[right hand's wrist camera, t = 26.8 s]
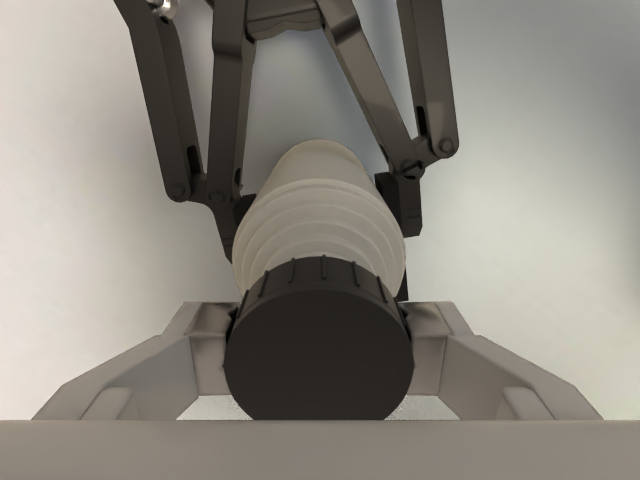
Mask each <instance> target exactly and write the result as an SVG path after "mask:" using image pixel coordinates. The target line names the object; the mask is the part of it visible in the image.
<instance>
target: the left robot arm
mask: <svg viewBox="0 0 640 480" xmlns="http://www.w3.org/2000/svg"><path fill="white" fill-rule="evenodd" d="M205 1H206V2H207V4H208V5H209V6H210V7H211V8H212V9H213V10H214V11H213V28H212V49H213V52H214V68H213V84H212V100H211V117H210V133H209V149H208V165H207V173H204V170H203V164H202V159H201V154H200V148H199V143H198V137H197V132H196V126H195V121H194V115H193V110H192V104H191V99H190V94H189V88H188V83H187V77H186V72H185V66H184V61H183V55H182V50H181V45H180V41H179V37H178V33H177V30H176V28H175V25H174V23H173V20H172V18H174V17H175V16H176V14H177V12H178V9H179V4H178V0H114V2H115V4H116V6H117V8H118V10H119V11H120V13H121V15H122V17H123V19H124V20H125V22H126V24H127V26H128V28H129V31H130V36H131V40H132V44H133V49H134V53H135V58H136V62H137V67H138V71H139V75H140V80H141V84H142V89H143V93H144V97H145V102H146V106H147V111H148V115H149V119H150V124H151V128H152V133H153V137H154V142H155V146H156V150H157V155H158V159H159V164H160V168H161V172H162V177H163V181H164V186H165V190H166V193H167V195H168V197H169V198H170V199H171V200H173V201H175V202H180V203H181V202H185V201H192V202H197V203H202V204H205V205H206V206H208V207H209V208H210V209H211V210H212V212H213V214H214V217H215V220H216V224H217V227H218V231H219V234H220V238H221V241H222V245H223V248H224V252H225V255H226V257H227V259H228V260H229V261H230V263H231V264H233V263H232V249H233V243H234V238H235V235H236V232H237V230H238V227H239V225H240V223H241V221H242V219H243V218H244V216H245V214H246V213H247V211H248V210H249V208H250V206H251V205H252V203H253V202H254V200H255V198H256V197H257V195H256V194H250V195H244V196H242V198H241V196H240V190H241V189H242V187H243V185H241V178H242V168H243V158H244V147H245V137H246V127H247V116H248V106H249V96H250V86H251V75H252V66H253V63H254V59H255V53H256V43H257V40H262V39H267V38H272V37H274V36H276V35H278V34H280V33H282V32H283V31H285V30H298V31H309V30H314V29H320V28H321V27H322V30H323V32H324V34H325V36H326V38H327V40H328V42H329V44H330V46H331V47H332V49H333V51H334V53H335V55H336V57H337V59H338V61H339V63H340V65H341V67H342V69H343V71H344V74H345V76H346V78H347V80H348V82H349V84H350V86H351V88H352V90H353V92H354V94H355V97H356V99H357V101H358V103H359V105H360V107H361V109H362V111H363V113H364V115H365V117H366V120H367V122H368V124H369V126H370V128H371V130H372V132H373V134H374V136H375V138H376V140H377V142H378V145H379V147H380V149H381V151H382V153H383V155H384V157H385V159H386V161H387V163H388V165H389V172H384V173H378V174H374V175H375V184H376V189H377V190H378V192H379V193H380V195H381V197H382V198H383V200H384V201H385V203H386V205H387V206H388V208H389V210H390V211H391V213H392V214H393V216H394V218H395V220H396V221H397V223H398V225H399V227H400V230H401V233H402V235H403V238H406V237H413V236H419V235H420V232H421V229H422V215H421V214H422V212H421V197H420V178H421V177H422V176H423V174H424V172H425V168H426V167H427V166H429V165H430V164H432V163H434V162H436V161H438V160H440V159H445V158H449V157H452V156H453V155H454V154H455V153H456V152H457V150H458V148H459V138H458V130H457V122H456V114H455V106H454V98H453V90H452V82H451V74H450V66H449V58H448V50H447V42H446V34H445V26H444V18H443V10H442V2H441V0H397V8H398V14H399V20H400V26H401V32H402V39H403V45H404V51H405V57H406V63H407V69H408V75H409V81H410V87H411V93H412V100H413V106H414V112H415V118H416V124H417V130H418V137H416V138H414V139H412V140H411V138H410V136H409V134H408V132H407V129H406V127H405V125H404V123H403V120H402V118H401V116H400V114H399V111H398V109H397V107H396V105H395V102H394V100H393V98H392V96H391V93H390V91H389V89H388V87H387V84H386V82H385V80H384V78H383V75H382V73H381V71H380V69H379V66H378V64H377V62H376V60H375V57H374V55H373V53H372V51H371V48H370V46H369V44H368V42H367V39H366V37H365V35H364V33H363V30H362V28H361V24H360V20H359V17H358V14H357V12H356V9H355V7H354V5H353V2H352V0H205ZM396 299H397V302H402V301H409V300H408V288H407V277H406V266H405V270H404V275H403V279H402V282H401V285H400V288H399V291H398V293H397V295H396Z"/></svg>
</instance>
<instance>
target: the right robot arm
mask: <svg viewBox="0 0 640 480" xmlns="http://www.w3.org/2000/svg"><path fill="white" fill-rule="evenodd" d="M398 304H399V307H400V310H401V312H402V315H403V318H404V320H405V323H406V325H407V326H405V329H406V332H407V335H408V338H409V340H410V343H411V347H412V350H413V357H414V371H413V376H412V381H411V384H410V387H409V389H408V392H407V393H406V395H428V396H438V398H439V399H440V400H442V401H443V402H444V403H445V404H446V405H447V406H448V407H449V408H450V409H451V410H452V411H453V412H454V413H455V414H456V415H457V416H458V417H459V418H460V419H461V420H175V419H176V418H177V417H178V416H180V415H181V414H182V413H183V412H184V411H185V410H186V409H187V408H188V407H189V406H190V405H191V404H192V403H193V402H194V401H195V400H196V399H198V396H208V395H232V394H231V392H230V390H229V388H228V385H227V382H226V378H225V373H224V355H225V349H226V346H227V343H228V340H229V337H230V334H231V332H232V329H233V325H232V324H233V322H235V321H236V315H237V313H238V310H239V307H240V305H241V304H240V302H203V301H193V302H184V303H183V304H182V306H181V307H180V309H179V310H178V312H177V313H176V314H175V316H174V317H173V319H172V320H171V322H170V323H169V325H168V326H167V328H166V329H165V331H164V332H163V334H162V335H156V336H154V337H152V338H150V339H148V340H146V341H144V342H142V343H141V344H139V345H137V346H135V347H133V348H131V349H129V350H127V351H125V352H124V353H122V354H120V355H118V356H116V357H114V358H112V359H110V360H109V361H107V362H105V363H103V364H101V365H99V366H97V367H95V368H93V369H92V370H90V371H88V372H86V373H84V374H82V375H80V376H78V377H76V378H75V379H73V380H71V381H69V382H67V383H65V384H63V385H62V386H61V387H60V388H59V389H58V390H57V391H56V392H55V394H54V395H53V396H52V397H51V398H50V399H49V400H48V401H47V402H46V404H45V405H44V406H43V407H42V408H41V409H40V410H39V411H38V412H37V414H36V415H35V416H34V417H33V418H32V419H31V420H0V480H640V420H604V419H603V418H602V417H601V416H600V414H599V413H598V412H597V411H596V410H595V409H594V408H593V406H592V405H591V404H590V403H589V402H588V401H587V400H586V399H585V397H584V396H583V395H582V394H581V393H580V392H579V391H578V389H577V388H576V387H575V386H574V385H572V384H570V383H568V382H566V381H565V380H563V379H561V378H559V377H557V376H555V375H553V374H552V373H550V372H548V371H546V370H544V369H542V368H540V367H539V366H537V365H535V364H533V363H531V362H529V361H527V360H525V359H524V358H522V357H520V356H518V355H516V354H514V353H512V352H511V351H509V350H507V349H505V348H503V347H501V346H499V345H498V344H496V343H494V342H492V341H490V340H488V339H486V338H485V337H483V336H481V335H474V333H473V332H472V330H471V329H470V327H469V326H468V324H467V323H466V321H465V320H464V318H463V317H462V315H461V314H460V312H459V311H458V309H457V308H456V306H455V305H454V303H453V302H451V301H443V302H406V303H398Z"/></svg>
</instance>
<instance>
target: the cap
mask: <svg viewBox="0 0 640 480" xmlns="http://www.w3.org/2000/svg"><path fill="white" fill-rule="evenodd" d="M232 325H233V329H232V332H231V334H230V337H229V340H228V343H227V346H226V349H225V355H224V373H225V378H226V382H227V385H228V388H229V390H230V392H231V394H232V396H233V398H234V399H235V401H236V402H237V403H238V405H239V406H240V407H241V408H242V409H243V410H244V412H245V413H246V414H247V415H249V416H250V417H251V418H252V419H254V420H384V419H385V418H386V417H388V416H389V415H390V414H391V413H392V412H393V411H394V410H395V409H396V408H397V407H398V405H399V404H400V403H401V402H402V400H403V399H404V397H405V395H406V393H407V392H408V389H409V387H410V384H411V381H412V376H413V371H414V357H413V350H412V347H411V343H410V340H409V338H408V335H407V332H406V329H405V326H407V325H406V323H405V320H404V318H403V315H402V312H401V310H400V307H399V304H398V302H397V299H396V297H393V296H392V294H391V293H390V291H389V290H388V288H387V287H386V286H385V285H384V284H383V282H382V281H381V278H380V276H377V277H376V276H375V275H374V274H373V273H371V272H370V271H368V270H367V269H365V268H364V267H362V266H359V265H357V264H356V262H355V261H352V262H350V261H347V260H344V259H339V258H334V257H326V255H322V256H312V257H311V256H310V257H304V258H298V259H295V258H291V261H288V262H285V263H283V264H281V265H278V266H276V267H275V268H273V269H271V270H270V271H268V270H266V271H265V272H264V275H263V276H262V277H260V278H259V279H258V280H257V281H256V282H255V283H254V284H253V285H252V287H251V288H250V290H248V289H247V290H246V291H245V294H244V297H243V299H242V302H241V305H240V307H239V310H238V313H237V315H236V321H235V322H233V324H232Z"/></svg>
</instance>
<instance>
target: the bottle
mask: <svg viewBox="0 0 640 480" xmlns="http://www.w3.org/2000/svg"><path fill="white" fill-rule="evenodd" d="M322 255H326V257H334V258H339V259H344V260H347V261H350V262H352V261H355V262H356V264H357V265H359V266H362V267H364V268H365V269H367V270H368V271H370V272H371V273H373V274H374V275H375V276H376V277H377V276H380V278H381V281H382V282H383V284H384V285H385V286H386V287H387V288H388V290H389V291H390V293H391V294H392V296H393V297H396V295H397V293H398V291H399V288H400V285H401V282H402V279H403V275H404V270H405V263H406V251H405V244H404V239H403V235H402V233H401V230H400V227H399V225H398V223H397V221H396V220H395V218H394V216H393V214H392V213H391V211H390V210H389V208H388V206H387V205H386V203H385V201H384V200H383V198H382V197H381V195H380V193H379V192H378V190H377V189H376V187H375V185H374V184H373V182H372V180H371V179H370V177H369V176H368V174H367V172H366V171H365V169H364V167H363V166H362V164H361V163H360V161H359V160H358V158H357V157H356V156H355V155H354V154H353V153H352V151H350V150H349V149H348V148H346V147H345V146H343V145H341V144H339V143H337V142H334V141H331V140H325V139H313V140H307V141H304V142H301V143H299V144H297V145H295V146H293V147H292V148H290V149H289V150H288V151H287V152H286V153H285V154H284V155H283V156H282V157H281V159H280V160H279V161H278V163H277V164H276V166H275V168H274V169H273V171H272V173H271V174H270V176H269V177H268V179H267V181H266V182H265V184H264V185H263V187H262V189H261V190H260V192H259V193H258V195H257V197H256V198H255V200H254V202H253V203H252V205H251V206H250V208H249V210H248V211H247V213H246V214H245V216H244V218H243V219H242V221H241V223H240V225H239V227H238V230H237V232H236V235H235V238H234V243H233V249H232V263H233V271H234V275H235V279H236V282H237V286H238V288H239V291H240V293H241V295H242V297H244V294H245V291H246V290H247V289H248V290H250V288H251V287H252V285H253V284H254V283H255V282H256V281H257V280H258V279H259V278H260V277H262V276H263V275H264V272H265V271H266V270H268V271H270V270H271V269H273V268H275V267H276V266H278V265H281V264H283V263H285V262H288V261H291V258H295V259H298V258H304V257H310V256H311V257H312V256H322Z"/></svg>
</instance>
